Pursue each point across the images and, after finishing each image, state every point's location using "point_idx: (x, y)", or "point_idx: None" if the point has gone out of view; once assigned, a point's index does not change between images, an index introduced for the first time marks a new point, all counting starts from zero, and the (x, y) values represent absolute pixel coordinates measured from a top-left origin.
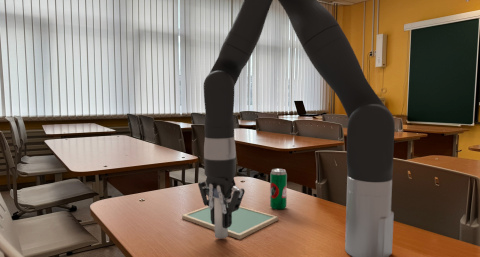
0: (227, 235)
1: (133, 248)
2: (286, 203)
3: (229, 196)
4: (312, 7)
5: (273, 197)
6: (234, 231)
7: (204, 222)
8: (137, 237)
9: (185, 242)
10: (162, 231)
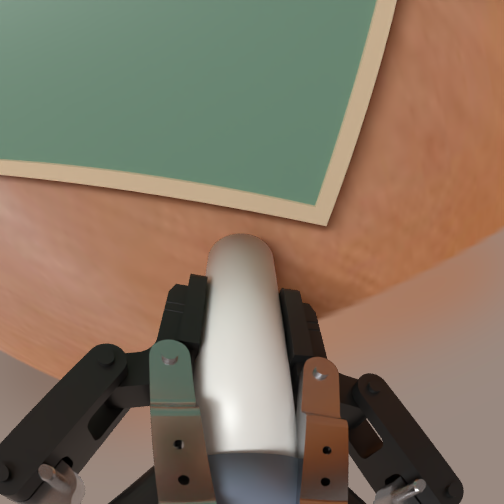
0: (273, 259)
1: None
2: None
3: (318, 452)
4: None
5: None
6: (274, 184)
7: (61, 176)
8: (21, 340)
9: (137, 324)
10: (16, 290)
